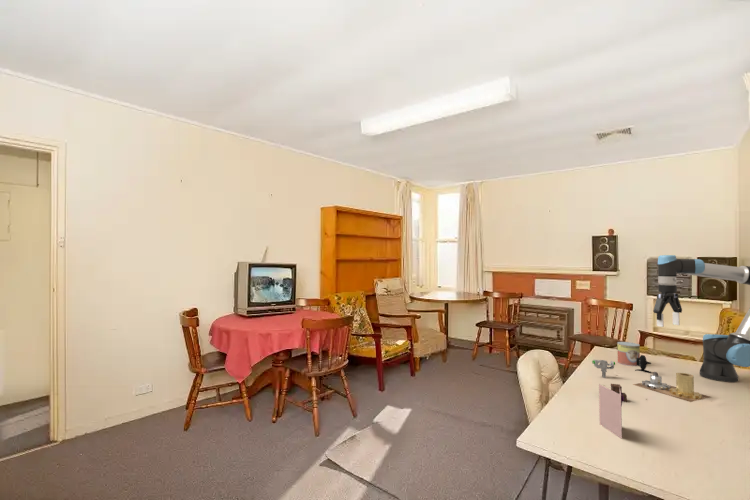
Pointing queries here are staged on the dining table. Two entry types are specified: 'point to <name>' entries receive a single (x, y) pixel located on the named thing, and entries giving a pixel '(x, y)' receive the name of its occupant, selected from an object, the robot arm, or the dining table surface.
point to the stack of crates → (618, 390)
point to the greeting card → (610, 410)
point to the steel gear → (656, 383)
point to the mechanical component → (603, 366)
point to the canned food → (628, 353)
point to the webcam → (642, 363)
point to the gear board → (669, 391)
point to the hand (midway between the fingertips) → (668, 325)
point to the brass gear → (685, 386)
